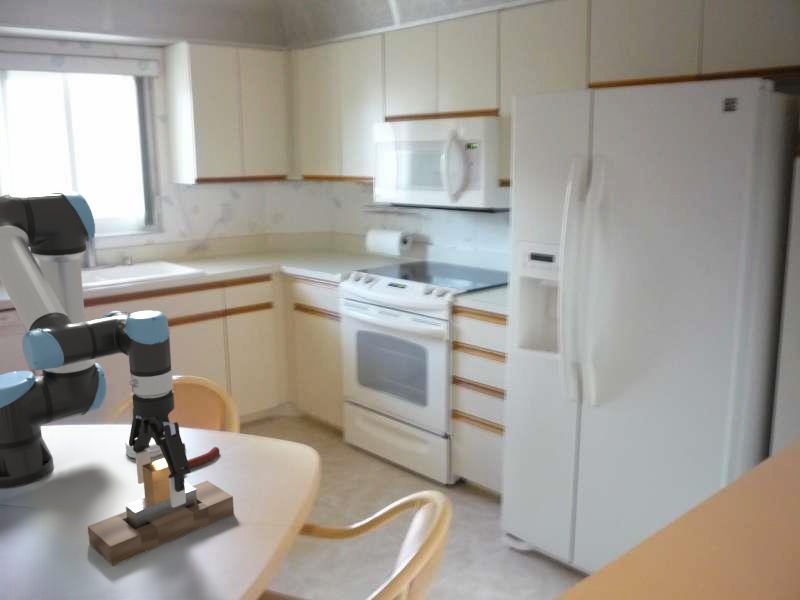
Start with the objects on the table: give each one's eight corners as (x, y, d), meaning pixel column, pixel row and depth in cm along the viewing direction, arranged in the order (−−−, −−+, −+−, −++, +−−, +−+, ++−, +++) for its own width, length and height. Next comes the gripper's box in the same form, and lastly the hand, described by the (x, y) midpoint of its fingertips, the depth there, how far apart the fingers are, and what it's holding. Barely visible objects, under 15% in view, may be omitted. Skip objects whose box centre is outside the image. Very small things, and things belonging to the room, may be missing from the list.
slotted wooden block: (89, 544, 141) (87, 526, 140) (208, 497, 159) (207, 480, 158) (112, 566, 134) (110, 546, 133) (233, 513, 152) (232, 496, 151)
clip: (128, 537, 143) (122, 472, 140) (188, 513, 152) (183, 451, 149) (138, 545, 140) (132, 479, 137) (198, 520, 149) (193, 457, 146)
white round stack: (174, 451, 181) (173, 438, 181) (135, 463, 175) (134, 450, 174) (158, 439, 189) (157, 426, 188) (120, 450, 182) (118, 437, 182)
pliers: (132, 487, 164) (131, 476, 164) (180, 450, 183) (179, 440, 183) (178, 493, 161) (177, 482, 161) (221, 455, 180) (221, 445, 180)
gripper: (105, 381, 145) (115, 478, 150) (166, 414, 128) (175, 522, 133) (140, 372, 151) (149, 466, 156) (204, 403, 134) (211, 508, 139)
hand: (161, 492), depth 144 cm, fingers open, 13 cm apart
